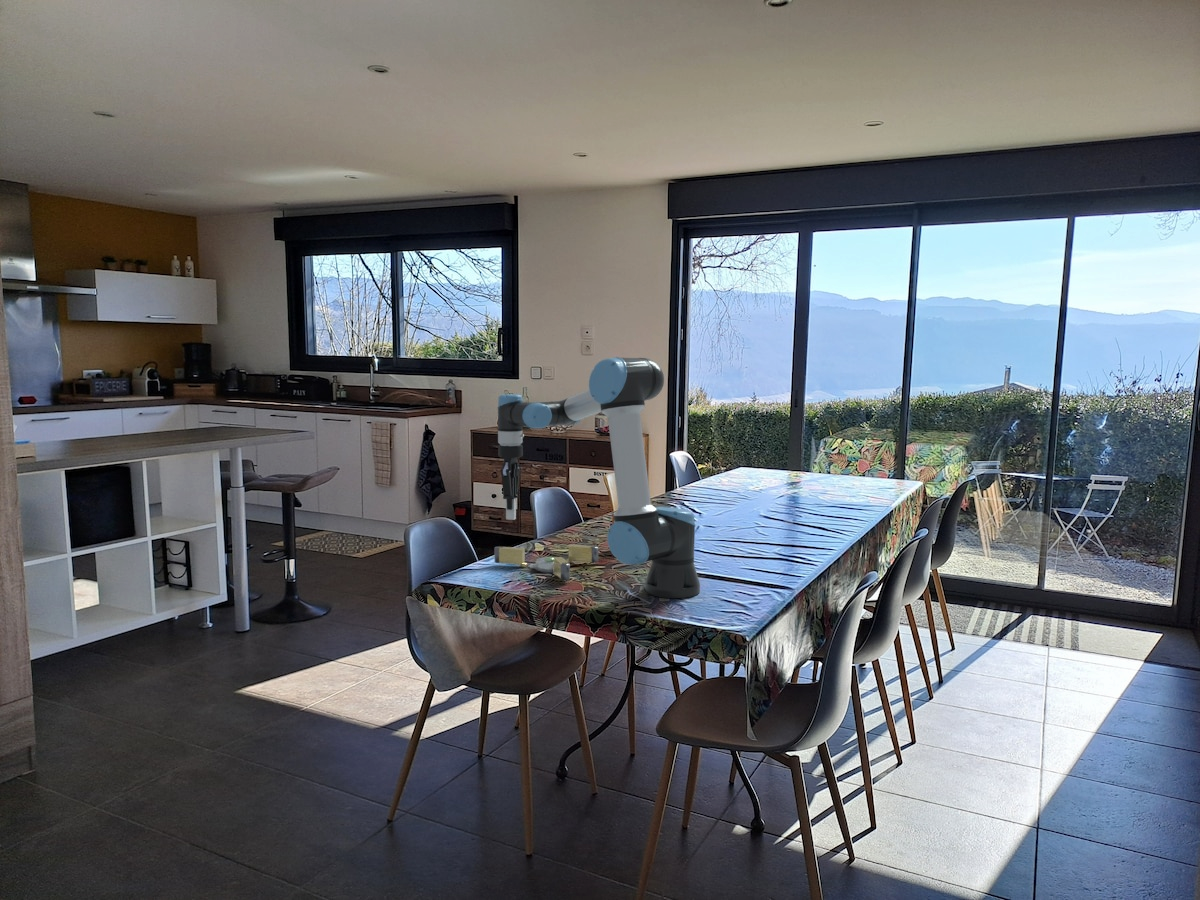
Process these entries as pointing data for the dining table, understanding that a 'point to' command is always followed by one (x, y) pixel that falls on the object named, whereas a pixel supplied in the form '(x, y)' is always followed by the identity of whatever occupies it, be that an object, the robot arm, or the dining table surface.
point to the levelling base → (544, 565)
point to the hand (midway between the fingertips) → (510, 519)
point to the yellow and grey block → (510, 555)
